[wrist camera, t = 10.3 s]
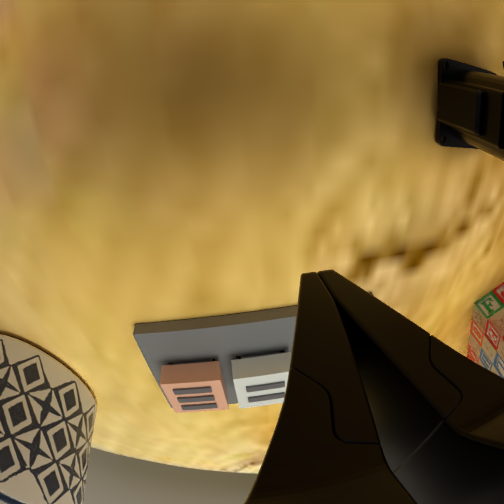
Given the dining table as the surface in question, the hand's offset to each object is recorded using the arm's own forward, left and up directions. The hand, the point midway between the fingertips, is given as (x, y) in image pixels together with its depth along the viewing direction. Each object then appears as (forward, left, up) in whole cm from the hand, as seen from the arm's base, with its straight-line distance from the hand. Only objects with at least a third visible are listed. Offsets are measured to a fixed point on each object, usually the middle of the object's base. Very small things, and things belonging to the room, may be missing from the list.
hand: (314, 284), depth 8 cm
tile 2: (+1, +18, -11) cm, 21 cm away
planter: (+29, +21, -12) cm, 38 cm away
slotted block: (+7, +18, -12) cm, 22 cm away
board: (+1, +18, -12) cm, 22 cm away
